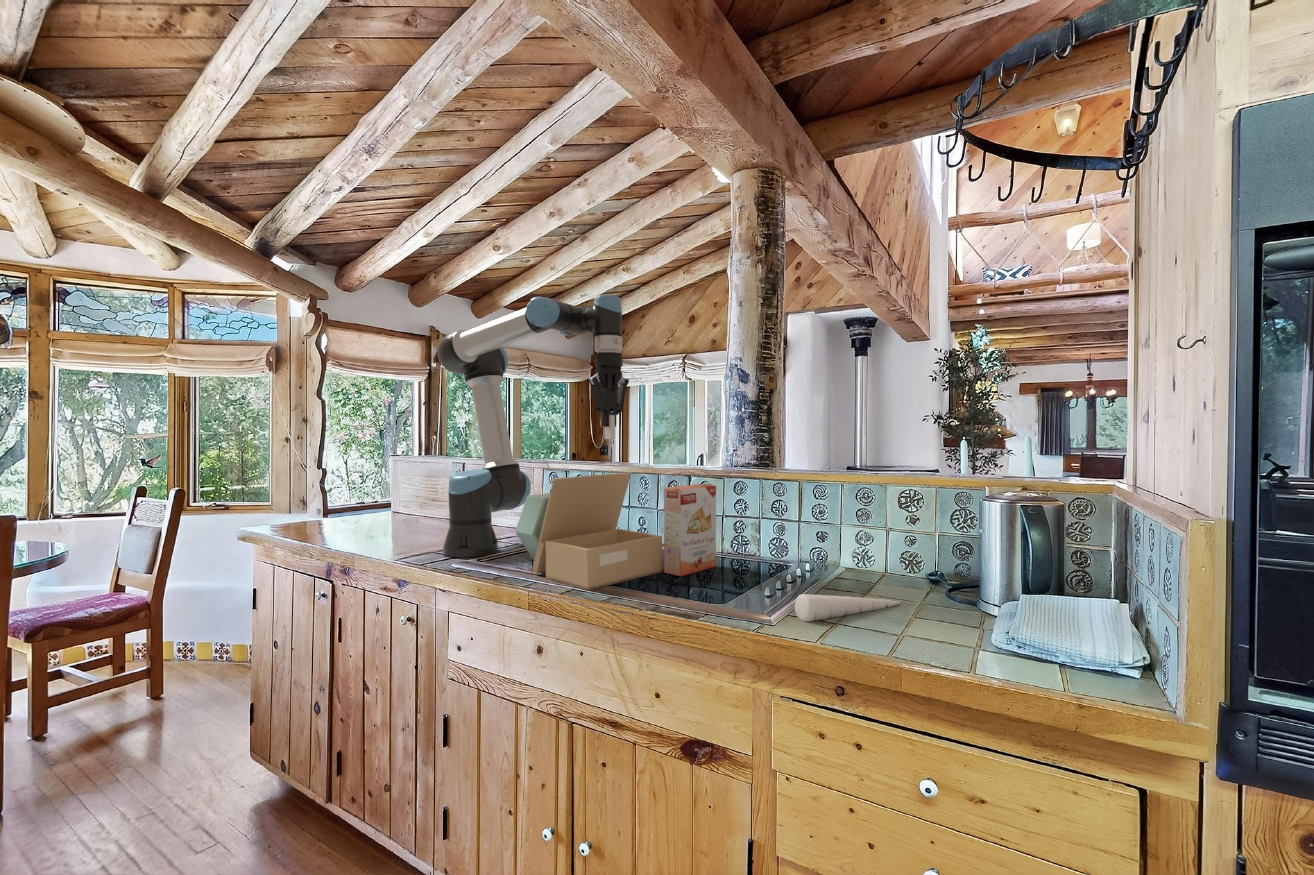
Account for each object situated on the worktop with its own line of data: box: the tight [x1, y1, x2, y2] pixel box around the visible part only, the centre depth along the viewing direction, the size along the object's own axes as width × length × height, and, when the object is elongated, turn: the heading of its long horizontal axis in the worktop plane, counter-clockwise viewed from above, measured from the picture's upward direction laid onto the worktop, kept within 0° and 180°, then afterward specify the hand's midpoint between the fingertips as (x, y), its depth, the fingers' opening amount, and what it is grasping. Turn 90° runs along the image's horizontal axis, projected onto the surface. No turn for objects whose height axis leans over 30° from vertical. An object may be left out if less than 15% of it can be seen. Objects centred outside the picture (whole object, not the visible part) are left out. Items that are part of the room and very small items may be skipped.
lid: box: [531, 471, 632, 575], centre depth 150 cm, size 25×24×2 cm
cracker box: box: [663, 483, 717, 577], centre depth 148 cm, size 14×6×21 cm, turn 137°
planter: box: [514, 492, 550, 560], centre depth 164 cm, size 17×8×21 cm
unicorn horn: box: [794, 593, 901, 623], centre depth 113 cm, size 5×24×5 cm, turn 109°
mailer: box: [545, 528, 663, 591], centre depth 144 cm, size 16×23×9 cm
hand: (609, 438), depth 165 cm, fingers closed
